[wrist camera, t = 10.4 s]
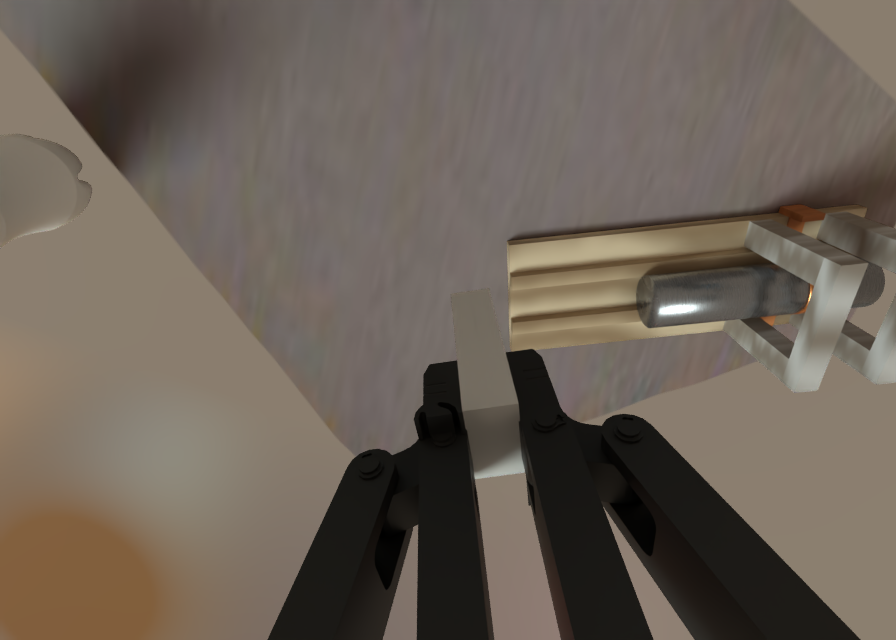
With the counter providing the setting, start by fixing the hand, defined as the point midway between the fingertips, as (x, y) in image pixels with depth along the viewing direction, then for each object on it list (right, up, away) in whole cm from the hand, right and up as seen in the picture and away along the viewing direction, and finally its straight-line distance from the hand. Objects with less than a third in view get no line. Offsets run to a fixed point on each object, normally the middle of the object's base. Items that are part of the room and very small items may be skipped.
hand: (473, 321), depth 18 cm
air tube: (+28, +4, +27) cm, 39 cm away
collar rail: (+22, +4, +28) cm, 36 cm away
